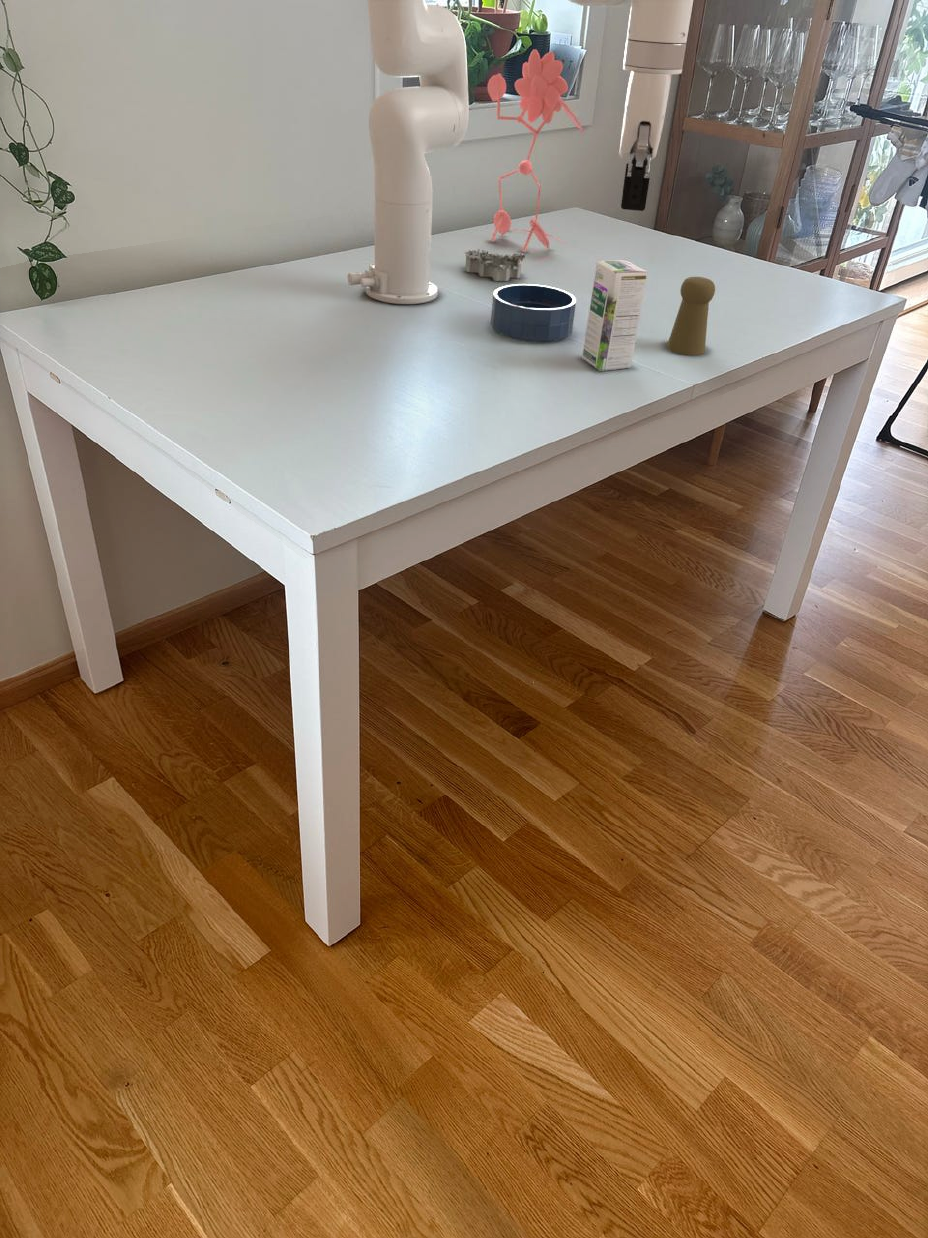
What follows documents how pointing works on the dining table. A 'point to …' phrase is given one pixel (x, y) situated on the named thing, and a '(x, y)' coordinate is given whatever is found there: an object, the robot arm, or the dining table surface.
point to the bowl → (533, 312)
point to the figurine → (532, 119)
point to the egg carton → (494, 264)
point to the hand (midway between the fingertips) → (633, 201)
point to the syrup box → (614, 314)
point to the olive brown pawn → (692, 317)
